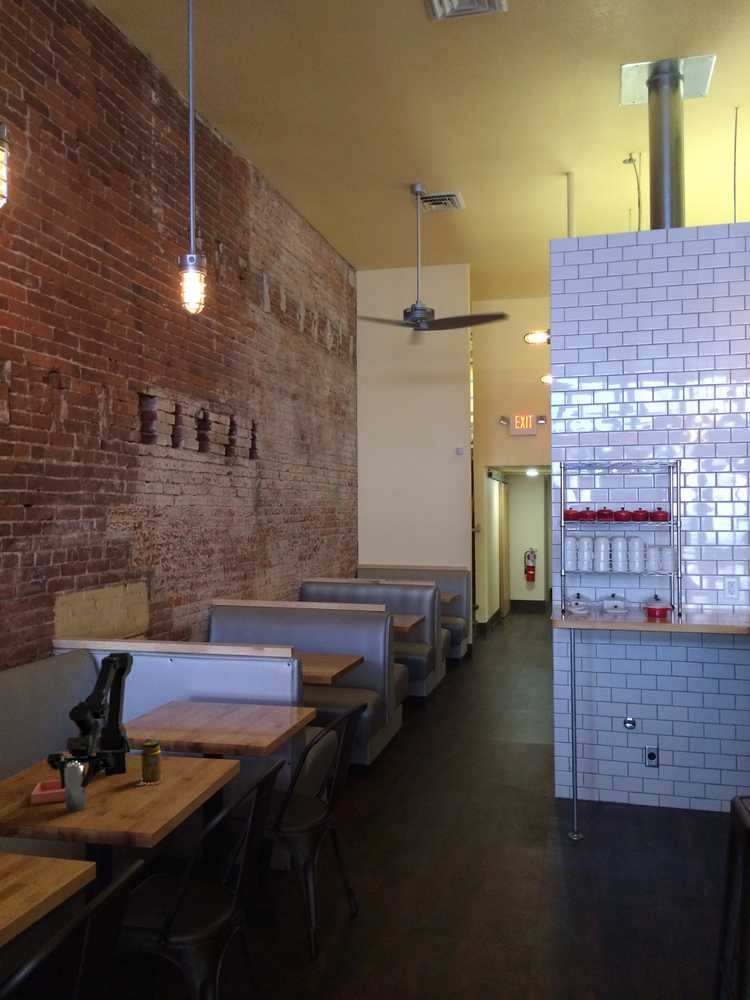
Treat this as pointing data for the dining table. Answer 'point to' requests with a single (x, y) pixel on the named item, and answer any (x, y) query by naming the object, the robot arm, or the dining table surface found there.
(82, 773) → the pebble tin
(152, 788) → the dining table surface
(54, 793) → the dish
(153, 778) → the condiment
